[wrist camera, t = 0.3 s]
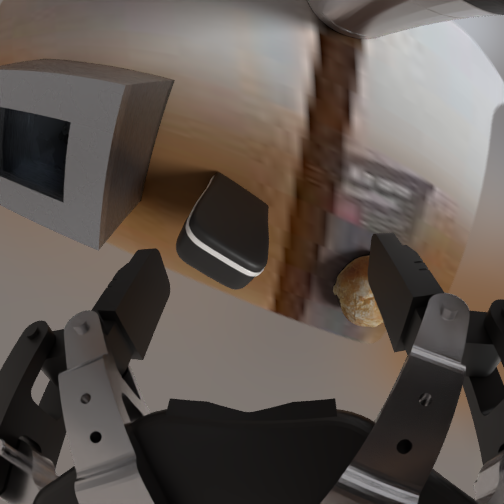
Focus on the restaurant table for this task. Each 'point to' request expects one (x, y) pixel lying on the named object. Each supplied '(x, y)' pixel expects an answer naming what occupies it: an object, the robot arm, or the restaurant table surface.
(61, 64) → the box
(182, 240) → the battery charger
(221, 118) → the restaurant table surface
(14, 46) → the restaurant table surface
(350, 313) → the bread roll
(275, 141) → the restaurant table surface
